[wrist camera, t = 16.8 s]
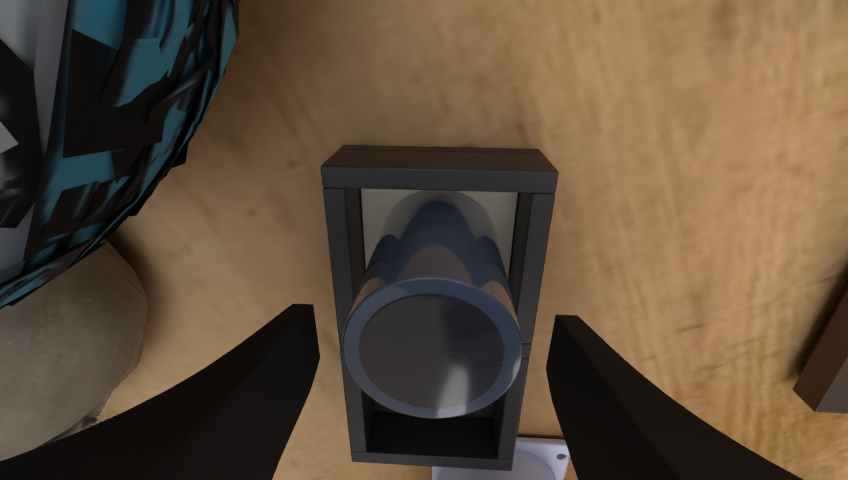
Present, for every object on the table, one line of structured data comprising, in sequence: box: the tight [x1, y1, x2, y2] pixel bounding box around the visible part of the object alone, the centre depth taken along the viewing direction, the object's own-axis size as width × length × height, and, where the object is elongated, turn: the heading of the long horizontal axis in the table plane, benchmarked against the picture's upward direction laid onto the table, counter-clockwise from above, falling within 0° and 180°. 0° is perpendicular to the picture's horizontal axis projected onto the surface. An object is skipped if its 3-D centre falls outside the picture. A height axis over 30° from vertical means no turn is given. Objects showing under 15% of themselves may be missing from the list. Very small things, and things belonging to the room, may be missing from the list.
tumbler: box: [342, 190, 523, 418], centre depth 14 cm, size 5×5×7 cm
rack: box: [321, 145, 558, 471], centre depth 18 cm, size 15×8×3 cm, turn 0°
